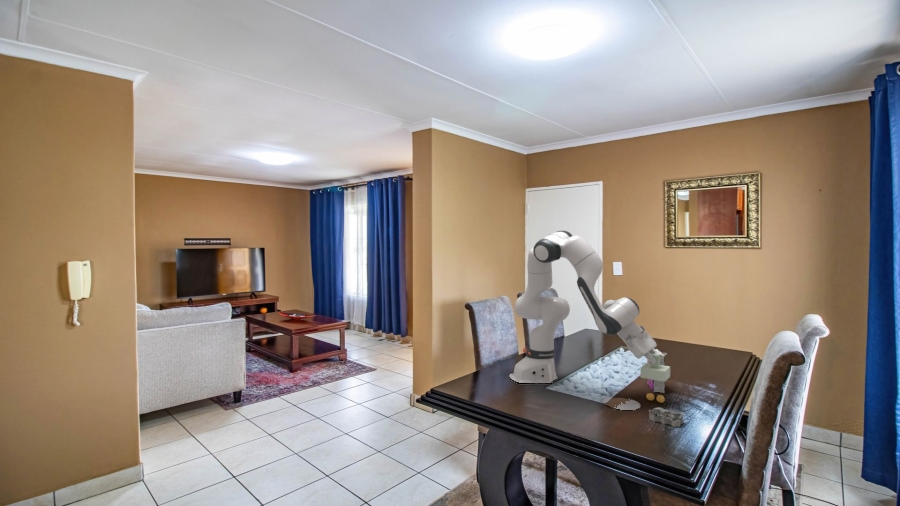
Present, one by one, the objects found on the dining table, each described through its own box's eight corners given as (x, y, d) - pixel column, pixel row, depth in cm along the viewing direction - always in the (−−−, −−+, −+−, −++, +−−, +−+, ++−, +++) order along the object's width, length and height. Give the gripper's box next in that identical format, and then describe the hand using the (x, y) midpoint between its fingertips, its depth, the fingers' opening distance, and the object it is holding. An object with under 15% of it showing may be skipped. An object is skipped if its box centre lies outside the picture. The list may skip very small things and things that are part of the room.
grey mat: (614, 412, 165) (614, 410, 165) (596, 399, 179) (596, 398, 179) (648, 409, 167) (648, 408, 167) (627, 397, 181) (627, 396, 181)
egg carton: (646, 420, 157) (646, 409, 157) (654, 415, 163) (654, 404, 163) (678, 429, 150) (678, 417, 150) (685, 422, 155) (685, 411, 155)
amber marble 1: (649, 402, 175) (649, 394, 175) (644, 399, 178) (644, 392, 178) (656, 401, 176) (656, 394, 176) (651, 399, 179) (651, 391, 179)
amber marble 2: (659, 404, 173) (659, 396, 173) (654, 401, 176) (654, 394, 176) (666, 403, 173) (666, 396, 173) (661, 401, 176) (661, 393, 176)
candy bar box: (646, 384, 197) (646, 348, 197) (658, 385, 196) (658, 348, 196) (652, 392, 186) (652, 354, 186) (665, 393, 185) (665, 355, 185)
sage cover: (640, 377, 175) (640, 355, 175) (646, 372, 182) (646, 350, 182) (664, 381, 169) (664, 358, 169) (670, 376, 176) (670, 354, 176)
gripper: (629, 333, 171) (656, 362, 165) (644, 325, 187) (669, 351, 181) (618, 343, 174) (643, 371, 168) (633, 335, 190) (657, 360, 184)
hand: (657, 361), depth 175 cm, fingers closed on sage cover, 3 cm apart
